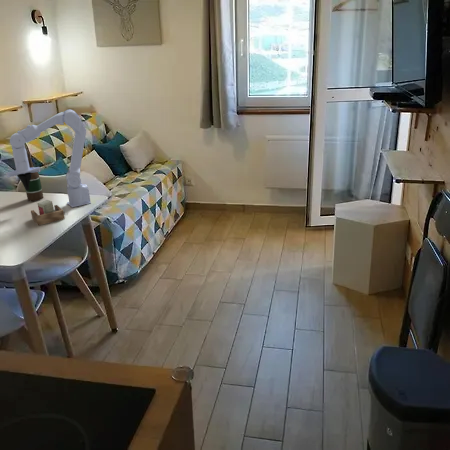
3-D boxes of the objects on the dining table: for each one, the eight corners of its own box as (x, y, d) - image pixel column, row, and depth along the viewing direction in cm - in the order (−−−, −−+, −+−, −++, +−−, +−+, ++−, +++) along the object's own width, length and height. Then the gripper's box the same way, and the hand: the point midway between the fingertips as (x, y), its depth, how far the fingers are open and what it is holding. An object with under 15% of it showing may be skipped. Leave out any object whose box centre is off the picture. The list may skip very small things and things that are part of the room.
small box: (50, 215, 217) (47, 199, 214) (55, 217, 215) (52, 201, 212) (40, 219, 214) (36, 202, 211) (45, 221, 211) (42, 204, 208)
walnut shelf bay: (58, 213, 220) (56, 204, 219) (64, 218, 213) (63, 210, 211) (32, 219, 214) (30, 210, 213) (38, 225, 207) (36, 216, 205)
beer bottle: (24, 200, 240) (14, 153, 231) (37, 195, 246) (28, 149, 237) (33, 202, 236) (23, 154, 227) (47, 197, 242) (38, 151, 233)
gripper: (35, 156, 222) (40, 184, 228) (2, 161, 215) (8, 190, 220) (39, 158, 217) (45, 187, 222) (5, 164, 209) (12, 194, 215)
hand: (27, 189), depth 221 cm, fingers closed
